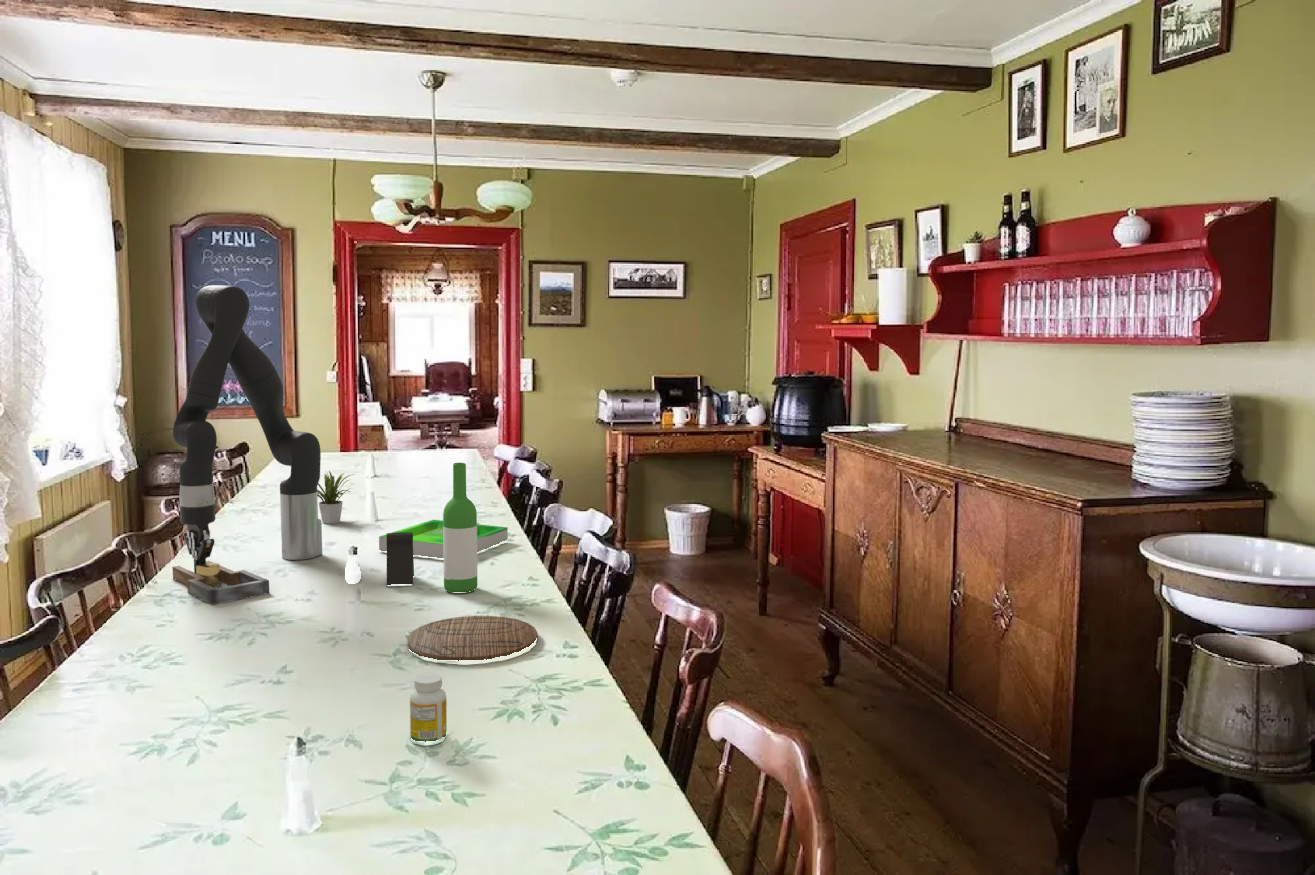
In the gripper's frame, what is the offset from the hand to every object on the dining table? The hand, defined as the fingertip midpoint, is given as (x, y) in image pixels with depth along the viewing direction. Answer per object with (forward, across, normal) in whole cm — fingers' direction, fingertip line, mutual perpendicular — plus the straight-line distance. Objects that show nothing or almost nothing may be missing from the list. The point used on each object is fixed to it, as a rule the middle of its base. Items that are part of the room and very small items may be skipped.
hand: (200, 573), depth 229 cm
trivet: (+2, -82, -20) cm, 84 cm away
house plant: (+2, +40, -56) cm, 68 cm away
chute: (+2, -8, 0) cm, 8 cm away
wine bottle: (+2, -50, -40) cm, 64 cm away
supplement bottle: (+2, -113, +10) cm, 114 cm away
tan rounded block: (+2, -5, 0) cm, 5 cm away
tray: (+2, -11, -61) cm, 62 cm away
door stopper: (+2, -34, -34) cm, 48 cm away
